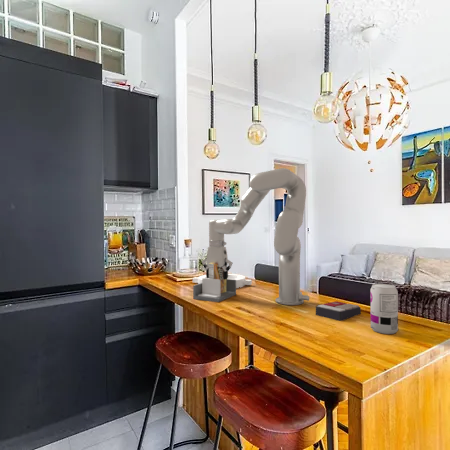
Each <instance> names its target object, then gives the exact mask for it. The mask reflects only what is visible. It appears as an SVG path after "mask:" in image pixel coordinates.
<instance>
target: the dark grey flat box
mask: <svg viewBox="0 0 450 450" xmlns="http://www.w3.org/2000/svg"><path fill="white" fill-rule="evenodd" d="M361 309H362V308H361V307H360V305H358V304H352V303H347V302H342V301H337V300H336V301H331V302H327V303H323V304H318V305H317V306H315V316H318V317H322V318H325V319H326V318H327V319H330V320H334V321H337V322H343V321H344V320H345V321H346V320H347V319H350V318H354V317H356V316H359V315H361V311H362V310H361Z"/></svg>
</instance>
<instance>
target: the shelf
mask: <svg viewBox="0 0 450 450" xmlns="http://www.w3.org/2000/svg"><path fill="white" fill-rule="evenodd" d="M192 289H193V290H192V291H193V292H192V296H193V297H192V298H193V300H198V301H199V300H200V301H204V302H205V301H207V302H214V303H220V302H222V301H224V300H227V299H230V298H232V297H234V296H236V295H237V288H236V280H232V279H226V292H224V293H221V280H218V279H207V278H202V283H200V284H198V283H195V284H194V285H193V286H192Z"/></svg>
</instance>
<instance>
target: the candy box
mask: <svg viewBox="0 0 450 450" xmlns="http://www.w3.org/2000/svg"><path fill="white" fill-rule="evenodd" d="M223 271H224V270H223V268H222V267H218V263H209V279H218V280H221V293H224V292H226V279H225V280H224V279H223Z"/></svg>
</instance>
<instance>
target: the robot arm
mask: <svg viewBox="0 0 450 450" xmlns="http://www.w3.org/2000/svg"><path fill="white" fill-rule="evenodd" d="M248 185H249V188H248V189H247V190H246V191H245V193H244V194H243V195H242V197H241V199H240V208H239V209H238V212H237V213H236V215H234V217H233V218H226V219H210V220H209V222H208V236H209V238H208V242H209V243H208V244H209V246H208V247H207V252H206V258H204V259H203V260H201V263H202V266H203V268H204V270H205V271H206V273H205V275H206V276H207V278H209V263H218V267H222V268H223V270H224V271H223V279H224V280H225V279H227V278H228V274H229V270H230V269H232V266H233V262H232V261H231V260H230V259H228V251H227V247H226V245H227V242H225V235H236V234H239V233H240V232H242V230H244V228H245V227H246V225H247V224H248V223H249V222H250V220H251V218H252V217H253V215H254V213H255V211H256V209H257V208H258V206H259V205H260V204H261V202H262V201H263V200H264V199H265V198H266V196H267V195H268V194H269V192H270V191H271V190H277V189H283V190H286V191H287V194H286V195H287V196H286V197H285V205H284V209H283V210H282V211H281V212H280V213H279V215H278V216H277V217H278V218H277V220H276V227H275V234H274V239H273V240H274V241H273V247H274V249H275V252H277V253H278V254H279V255H278V297H276V298H275V302H276V303H277V304H280V305H285V306H298V305H302V304H304V302H305V301H307V302H308V301H310V295H309V296H308V295H307V294H306V295H305V294H303V292H302V291H301V248H302V247H301V245H302V244H301V240H300V238H299V236H298V234H299V233H298V232H299V229H300V228H301V226H302V225H303V221H304V214H305V208H306V207H305V205H306V196H307V187H306V184H305V182H304V180H303V179H302V178H301V177H300V176H298V174H296V173H294V172H293V171H291V170H290V169H288V168H286V167H285V168H284V167H283V168H277V169H272V170H271V169H270V170H266V171H262V172H258V173H255V174H254V175H252V176H251V178H250V180H249V184H248Z"/></svg>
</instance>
